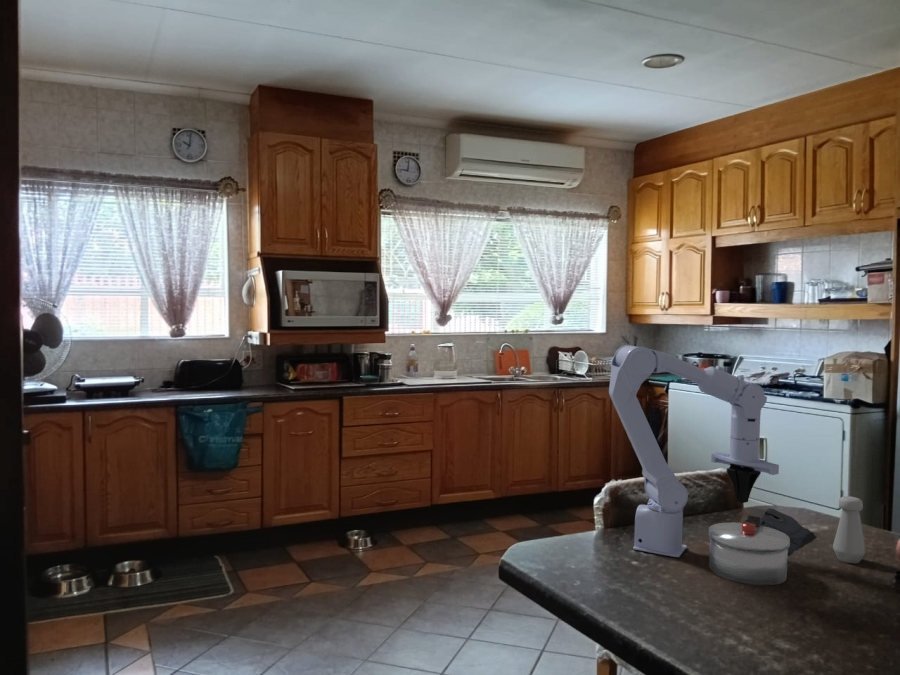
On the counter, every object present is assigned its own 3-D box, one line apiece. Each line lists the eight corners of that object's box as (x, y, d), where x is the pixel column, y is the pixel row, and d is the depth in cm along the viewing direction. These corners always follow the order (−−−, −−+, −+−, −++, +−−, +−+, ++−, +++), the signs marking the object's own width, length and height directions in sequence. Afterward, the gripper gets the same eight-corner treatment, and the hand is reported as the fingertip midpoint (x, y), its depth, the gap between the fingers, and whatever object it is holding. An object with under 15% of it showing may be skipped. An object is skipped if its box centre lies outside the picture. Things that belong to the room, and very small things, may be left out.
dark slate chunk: (716, 543, 159) (717, 521, 158) (750, 522, 175) (750, 503, 175) (790, 560, 149) (791, 537, 148) (818, 536, 165) (819, 515, 165)
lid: (784, 557, 130) (785, 540, 129) (701, 542, 137) (701, 525, 137) (797, 530, 147) (797, 514, 147) (722, 517, 154) (722, 503, 154)
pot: (782, 591, 130) (784, 558, 130) (702, 575, 137) (703, 544, 137) (792, 559, 147) (793, 530, 147) (720, 546, 154) (721, 519, 154)
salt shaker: (868, 566, 144) (871, 502, 144) (838, 563, 146) (840, 500, 145) (858, 556, 150) (861, 495, 150) (828, 554, 151) (831, 493, 151)
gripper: (788, 442, 148) (785, 507, 149) (725, 431, 160) (723, 491, 160) (768, 445, 144) (766, 512, 145) (706, 434, 156) (704, 495, 156)
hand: (742, 501), depth 152 cm, fingers closed
